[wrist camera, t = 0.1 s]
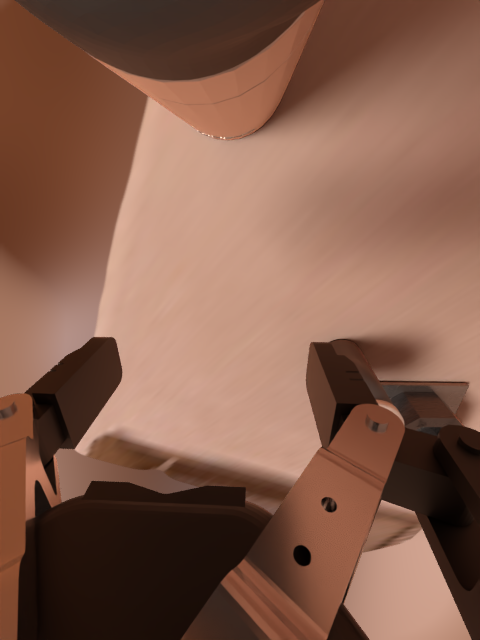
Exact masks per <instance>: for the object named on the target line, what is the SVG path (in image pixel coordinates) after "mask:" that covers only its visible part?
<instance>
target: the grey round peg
mask: <svg viewBox="0 0 480 640" xmlns="http://www.w3.org/2000/svg"><path fill="white" fill-rule="evenodd" d="M330 343H331V344H332V346H333V348H334V350H335V352H336V354H337V355H345V356H346V357H347V358H349V359H350V360H351V361H352V362H354V364H355V365H356V367H357V369H358V370H359V373H360V374H361V375H362V377H363V380H364V381H365V382H366V384H367V386H368V387H369V389H370V391H371V393H372V394H373V396H374V398H375V399H376V401H377V403H378V405H379V406H381V407H384V408H386V409H388V410H390V411H392V412H393V413H394V414H396V415H397V416H398V417H399V418H400V419H401V421H402V422H403V424H404V420H403V418H402V416H401V414H400V413H399V411H398V409H397V408H396V407H395V406H394V405H393V403H392V402H391V400H390V398H389V397H388V395H387V393H386V392H385V390H384V388H383V387H382V385H381V383H380V382H379V380H378V378H377V377H376V375H375V373H374V372H373V370H372V368H371V367H370V365H369V363H368V362H367V360H366V358H365V357H364V355H363V353H362V352H361V350H360V348H359V347H358V346H357V345H356V344H355V343H353V342H351V341H348V340H336V341H332V342H330Z"/></svg>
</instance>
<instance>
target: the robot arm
mask: <svg viewBox="0 0 480 640" xmlns="http://www.w3.org/2000/svg"><path fill="white" fill-rule="evenodd" d="M15 1H16V2H18V3H19V4H20V5H21V6H23V7H24V8H25V9H27V10H28V11H29V12H30V13H32V14H33V15H34V16H36V17H37V18H38V19H39V20H41V21H42V22H43V23H45V24H46V25H48V26H49V27H51V28H52V29H53V30H55V31H56V32H58V33H59V34H61V35H62V36H63V37H65V38H66V39H68V40H69V41H70V42H72V43H73V44H75V45H76V46H78V47H80V48H81V49H82V50H84V51H85V52H87V53H88V54H89V55H90V56H92V57H93V58H95V59H96V60H97V61H99V62H100V63H102V64H103V65H105V66H106V67H108V68H109V69H110V70H112V71H113V72H115V73H116V74H117V75H119V76H120V77H122V78H123V79H125V80H126V81H127V82H129V83H130V84H132V85H134V86H135V87H136V88H138V89H139V90H141V91H142V92H144V93H145V94H146V95H148V96H149V97H151V98H152V99H154V100H155V101H156V102H158V103H159V104H161V105H162V106H163V107H165V108H166V109H168V110H169V111H171V112H172V113H173V114H175V115H176V116H178V117H179V118H181V119H182V120H183V121H185V122H186V123H188V124H189V125H190V126H192V127H193V128H195V129H196V130H197V131H198V132H200V133H202V134H204V135H207V136H209V137H212V138H215V139H221V140H233V139H240V138H243V137H245V136H247V135H250V134H252V133H254V132H255V131H256V130H258V129H259V128H260V127H262V126H263V125H264V124H265V123H266V122H267V121H268V119H269V118H270V117H271V116H272V115H273V113H274V112H275V110H276V108H277V107H278V105H279V103H280V101H281V99H282V97H283V94H284V92H285V90H286V88H287V86H288V84H289V81H290V79H291V77H292V74H293V72H294V70H295V68H296V65H297V63H298V61H299V58H300V56H301V54H302V51H303V49H304V47H305V45H306V42H307V40H308V38H309V35H310V33H311V31H312V28H313V26H314V24H315V22H316V19H317V17H318V15H319V12H320V10H321V8H322V5H323V3H324V1H325V0H15ZM121 378H122V366H121V362H120V357H119V352H118V348H117V343H116V340H115V339H114V338H112V337H93V338H91V339H90V340H89V341H88V342H87V343H86V344H85V345H84V346H83V347H81V348H80V349H78V350H76V351H74V352H72V353H70V354H68V355H67V356H65V357H64V359H62V360H61V361H60V362H59V363H58V365H55V366H54V367H53V368H52V369H51V371H50V372H47V373H46V374H45V375H44V376H43V377H42V378H41V379H40V380H38V381H37V382H36V383H35V384H34V385H33V386H32V387H31V388H29V389H28V390H27V391H26V392H25V393H17V394H11V395H7V396H4V397H1V398H0V640H369V638H368V637H367V636H366V634H365V633H364V631H363V630H362V629H361V627H360V626H359V625H358V623H357V622H356V621H355V619H354V618H353V617H352V615H351V614H350V612H349V611H348V610H347V608H346V607H345V606H344V602H345V599H346V596H347V594H348V591H349V588H350V585H351V583H352V580H353V577H354V574H355V572H356V568H357V566H358V563H359V560H360V557H361V555H362V552H363V549H364V546H365V544H366V541H367V538H368V535H369V533H370V530H371V527H372V524H373V522H374V519H375V516H376V513H377V511H378V508H379V505H380V503H381V500H384V501H387V502H390V503H392V504H395V505H398V506H401V507H404V508H407V509H409V510H412V511H415V513H416V515H417V517H418V520H419V522H420V524H421V526H422V529H423V531H424V533H425V535H426V538H427V540H428V542H429V544H430V547H431V549H432V551H433V553H434V556H435V558H436V560H437V562H438V565H439V567H440V569H441V571H442V574H443V576H444V578H445V580H446V583H447V585H448V587H449V589H450V591H451V594H452V596H453V598H454V601H455V603H456V605H457V607H458V610H459V612H460V614H461V616H462V619H463V621H464V623H465V625H466V628H467V630H468V632H469V634H470V636H471V639H472V640H480V432H478V431H476V430H473V429H471V428H468V427H464V426H460V425H447V426H444V427H442V428H441V429H440V431H439V433H438V436H434V435H431V434H427V433H423V432H419V431H415V430H412V429H409V428H406V427H404V424H403V422H402V421H401V419H400V418H399V417H398V416H397V415H396V414H394V413H393V412H392V411H390V410H388V409H386V408H384V407H381V406H379V405H378V403H377V401H376V399H375V398H374V396H373V394H372V393H371V391H370V389H369V387H368V386H367V384H366V382H365V381H364V380H363V377H362V375H361V374H360V373H359V370H358V369H357V367H356V365H355V364H354V362H352V361H351V360H350V359H349V358H347V357H346V356H345V355H337V354H336V352H335V350H334V348H333V346H332V344H331V343H327V342H311V344H310V348H309V356H308V364H307V372H306V387H307V392H308V395H309V399H310V403H311V406H312V410H313V414H314V418H315V421H316V425H317V429H318V432H319V436H320V440H321V444H322V447H321V448H320V449H319V450H318V451H317V452H316V454H315V455H314V457H313V458H312V459H311V461H310V462H309V464H308V465H307V467H306V468H305V470H304V471H303V473H302V474H301V476H300V477H299V479H298V480H297V481H296V483H295V484H294V486H293V487H292V489H291V490H290V492H289V493H288V495H287V496H286V498H285V499H284V501H283V502H282V504H281V505H280V506H279V508H278V509H277V511H276V512H275V514H274V515H272V514H271V513H270V512H268V511H267V510H265V509H264V508H262V507H260V506H258V505H256V504H253V503H251V502H248V501H245V493H246V487H224V486H204V487H199V488H194V489H190V490H185V491H180V492H175V493H170V494H162V493H158V492H155V491H153V490H150V489H147V488H144V487H141V486H138V485H135V484H132V483H128V482H106V481H105V482H104V481H92V482H91V483H90V485H89V487H88V489H87V491H86V493H85V494H84V495H82V496H78V497H75V498H72V499H69V500H67V501H65V502H61V493H60V483H59V475H58V465H57V459H56V457H55V453H56V452H57V450H58V449H59V448H63V449H64V448H65V449H75V448H76V446H77V445H78V443H79V442H80V440H81V439H82V437H83V436H84V435H85V433H86V432H87V430H88V429H89V427H90V426H91V424H92V423H93V422H94V420H95V419H96V417H97V416H98V414H99V413H100V411H101V410H102V408H103V407H104V406H105V404H106V403H107V401H108V400H109V398H110V397H111V395H112V394H113V393H114V391H115V390H116V388H117V387H118V385H119V384H120V382H121Z"/></svg>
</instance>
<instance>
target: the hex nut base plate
mask: <svg viewBox="0 0 480 640" xmlns="http://www.w3.org/2000/svg"><path fill="white" fill-rule="evenodd" d="M380 383H381V385H382V387H383V388H384V390H385V392H386V393H387V395H388V397H389V398H390V400H391V402H392V403H393V405H394V406H395V407H396V408H397V409H398V411H399V413H400V414H401V416H402V418H403V420H404V427H406V428H409V429H412V430H415V431H419V432H423V433H427V434H431V435H434V436H438V433H439V431H440V429H441V428H442V427H444V426H447V425H460V426H464V425H463V424H462V423H461V421H460V420H459V419H458V418H457V417H456V415H455V413H456V411H457V409H458V407H459V405H460V403H461V401H462V399H463V397H464V395H465V393H466V391H467V389H468V387H469V385H468V384H467V383H413V382H380ZM464 427H465V426H464Z"/></svg>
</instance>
